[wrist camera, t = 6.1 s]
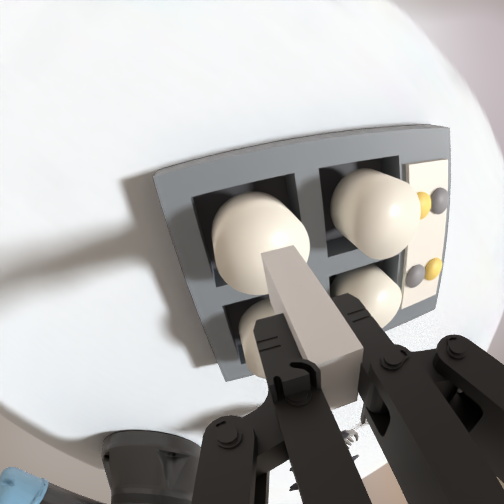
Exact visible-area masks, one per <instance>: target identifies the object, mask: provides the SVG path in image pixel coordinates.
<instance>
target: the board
mask: <svg viewBox="0 0 504 504" xmlns="http://www.w3.org/2000/svg"><path fill="white" fill-rule="evenodd" d="M361 168H369V169H373V170H376V171H379V172H381V173H384V174H387V175H389V176H392V177H395V178H397V179H400V180H402V181H404V182H406V183H408V184H409V185H411V186H412V187H413V189H414V190H415V191H416V193H417V195H418V198H419V201H420V207H421V215H420V222H419V226H418V229H417V231H416V233H415V235H414V237H413V239H412V240H411V242H410V243H409V244H408V245H407V247H406V248H405V249H403V250H402V251H401V252H400V253H398V254H397V255H395V256H393V257H391V258H387V259H381V260H380V259H373V258H370V257H368V256H366V255H365V254H364V253H363V252H362V251H361V250H359V249H358V248H357V247H356V246H355V245H354V244H353V243H352V242H350V241H349V240H348V239H347V238H346V237H345V236H343V235H342V234H341V233H340V232H339V231H338V230H337V229H336V227H335V226H334V224H333V222H332V219H331V214H330V203H331V198H332V195H333V192H334V190H335V188H336V186H337V185H338V183H339V182H340V181H341V180H342V179H343V178H344V177H345V176H346V175H347V174H348V173H350V172H352V171H354V170H357V169H361ZM153 179H154V183H155V186H156V190H157V193H158V197H159V200H160V203H161V207H162V210H163V213H164V216H165V220H166V223H167V226H168V229H169V232H170V235H171V238H172V241H173V244H174V247H175V250H176V253H177V256H178V259H179V262H180V265H181V268H182V271H183V274H184V277H185V279H186V282H187V285H188V288H189V291H190V293H191V296H192V299H193V302H194V304H195V307H196V310H197V312H198V315H199V317H200V320H201V323H202V325H203V328H204V330H205V333H206V335H207V338H208V340H209V343H210V345H211V348H212V350H213V353H214V355H215V358H216V360H217V362H218V365H219V367H220V370H221V372H222V374H223V377H224V379H225V381H226V382H227V381H232V380H236V379H240V378H244V377H248V376H252V375H254V374H253V373H252V372H251V371H250V370H249V369H248V367H247V364H246V360H245V356H244V352H243V347H242V343H241V339H240V334H239V322H240V319H241V317H242V316H243V314H244V313H245V312H246V310H247V309H249V308H250V307H251V306H252V305H254V304H255V303H257V302H259V301H261V300H264V299H268V298H269V294H266V295H250V294H245V293H242V292H239V291H237V290H235V289H234V288H232V287H231V286H229V285H228V284H227V283H226V282H225V281H224V280H223V278H222V277H221V275H220V274H219V272H218V269H217V266H216V261H215V255H214V249H213V242H212V233H211V230H212V223H213V220H214V217H215V215H216V213H217V211H218V210H219V209H220V207H221V206H222V205H223V204H224V203H225V202H226V201H228V200H229V199H230V198H232V197H234V196H236V195H238V194H241V193H244V192H251V191H257V192H264V193H267V194H270V195H272V196H274V197H276V198H277V199H278V200H280V201H281V202H282V203H283V204H284V205H285V206H286V207H287V208H288V209H289V210H290V211H291V212H292V213H293V214H294V215H295V216H296V218H297V219H298V220H299V221H300V222H301V223H302V224H303V226H304V227H305V229H306V231H307V234H308V237H309V242H310V251H309V257H308V260H307V265H308V266H309V267H310V269H311V270H312V272H313V273H314V275H315V276H316V277H317V279H318V280H319V282H320V283H321V285H322V286H323V288H324V289H325V291H326V292H327V293H328V295H329V296H330V287H331V284H332V282H333V280H334V279H335V277H336V276H337V275H338V274H339V273H342V272H346V271H349V270H352V269H355V268H359V267H362V266H365V265H368V264H371V263H374V264H375V265H377V266H378V267H379V268H380V269H381V270H382V271H383V272H384V273H385V274H386V275H387V276H388V277H390V278H391V279H392V280H393V281H394V282H395V283H396V284H397V285H398V286H399V288H400V290H401V293H402V300H401V304H400V307H399V309H398V311H397V313H396V315H395V316H394V317H393V319H392V320H391V321H390V322H389V323H388V324H387V325H386V326H384V327H383V328H382V329H383V331H384V332H385V331H387V330H389V329H392V328H394V327H397V326H399V325H401V324H403V323H406V322H408V321H410V320H412V319H415V318H417V317H419V316H421V315H423V314H426V313H428V312H430V311H432V310H434V309H435V307H436V302H437V297H438V292H439V287H440V282H441V276H442V270H443V263H444V256H445V249H446V241H447V231H448V221H449V207H450V186H451V148H450V128H448V127H442V126H436V125H430V124H429V125H408V126H392V127H380V128H369V129H359V130H350V131H342V132H334V133H327V134H320V135H313V136H306V137H300V138H294V139H288V140H283V141H277V142H272V143H267V144H261V145H256V146H252V147H247V148H242V149H238V150H233V151H229V152H224V153H220V154H216V155H212V156H208V157H204V158H200V159H196V160H192V161H188V162H184V163H181V164H177V165H174V166H170V167H167V168H163V169H160V170H158V171H157V172H156V173H155V175H154V176H153Z"/></svg>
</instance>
